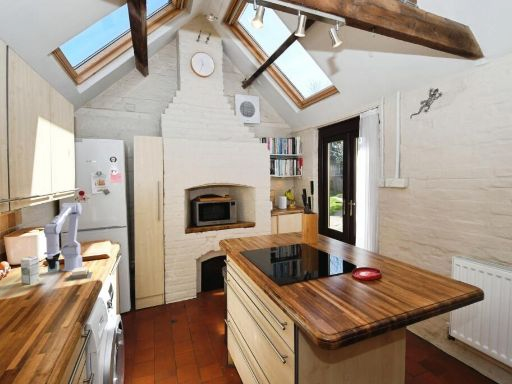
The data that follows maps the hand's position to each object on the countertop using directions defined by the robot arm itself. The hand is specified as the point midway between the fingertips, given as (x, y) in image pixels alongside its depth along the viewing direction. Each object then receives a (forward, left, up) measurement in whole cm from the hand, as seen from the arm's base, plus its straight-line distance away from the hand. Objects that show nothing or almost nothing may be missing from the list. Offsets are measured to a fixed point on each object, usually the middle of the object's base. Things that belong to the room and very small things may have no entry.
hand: (53, 267), depth 150 cm
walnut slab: (-10, +8, -8) cm, 15 cm away
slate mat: (-10, +8, -8) cm, 15 cm away
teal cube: (0, 0, -2) cm, 2 cm away
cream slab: (-10, +8, -6) cm, 14 cm away
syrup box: (+4, -12, -9) cm, 15 cm away
